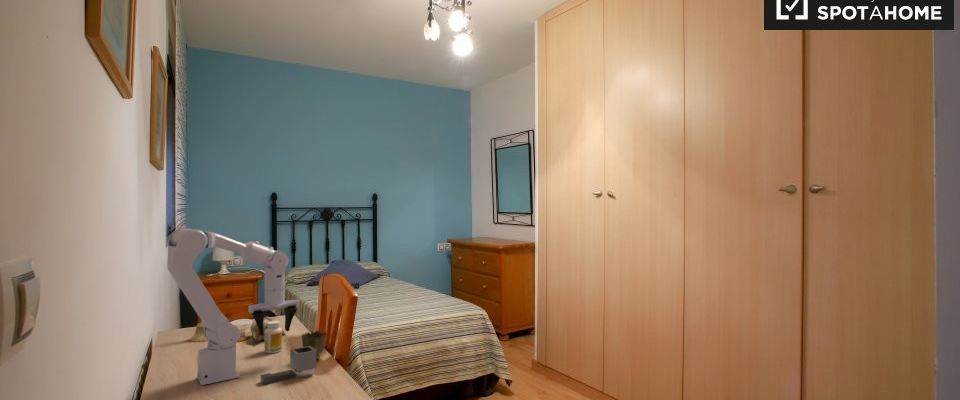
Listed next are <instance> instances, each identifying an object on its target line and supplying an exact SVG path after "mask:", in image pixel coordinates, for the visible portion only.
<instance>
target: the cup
mask: <svg viewBox="0 0 960 400" xmlns="http://www.w3.org/2000/svg"><path fill="white" fill-rule="evenodd" d="M326 339H327V332H325V331H324V332H323V333H322V330H321V331H318V330H315V331H313V330H312V331H311V333H310V331H307V332H305V333H302V334H301V342H302V347H306V346H311V347H312V348H314V349H315V350H316V361H318V360H319V358H320V356H321V355H320V354H322V352H323V351H324V350H325V346H326Z"/></svg>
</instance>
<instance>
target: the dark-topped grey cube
mask: <svg viewBox="0 0 960 400" xmlns="http://www.w3.org/2000/svg"><path fill="white" fill-rule="evenodd" d="M289 352H290V353H289V355H290V361H289V363H290V364H289V367H290V368H291V370H292V369H294V370H295V371H296V372H299V371H304V370H308V369H313V368H314V369H317V360H316V350H315V349H314V348H312V347H311V346H306V347H303V346H302V347H297V348H292V349H290V350H289Z"/></svg>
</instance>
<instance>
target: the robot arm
mask: <svg viewBox="0 0 960 400" xmlns="http://www.w3.org/2000/svg"><path fill="white" fill-rule="evenodd" d="M166 245H167V261H166V264H167V265H166V266H167V267H166V268H167V270H168V272H169V273H170V275H171V276H172V278H173V279H174V282H176V284H177V286H178V287H179V289H180V290H181V291H182V292H183V294H184V297H186V299H187V301H188V302H189V304H190V305H191V307H192V308H193V310H194V311H195V313H196V314H197V316H198V317H199V320H200V323H201V324H202V326H203V328H204V336H205V338H206V339H207V340H209V341H207V342H208V343H207V345H206V347H204V348H201V349H198V352H197V372H196V373H197V380H198V381H199V383H200V385H201V386H205V385H209V384H214V383H219V382H222V381H228V380H233V379H238V378H240V376H241V375H240V374H239V372H238V371H237V342H238V341H239V340H240V337H241V330H240V329H239V327H238V326H237V325H235V324H233V323H231V321H230V320H229V319H228V318H227V317H226V315H224V314H223V312H221V310H220V308H219V307H218V305H217V304H216V302H215V300H214V299H213V298H212V296H211V294H210V293H209V291H208V290H207V288H206V286H205V285H204V284H203V282H202V280H201V278H200V276H199V275H198V274H197V272H196V271H195V269H194V267H193V266H194V263H195V261H196V259H197V257H198V256H199V255H200V254H201V253H202V252H203V251H204V250H205V249H212V248H214V247H215V248H219V249H222V250H226V251H228V252H232V253H236V254H238V255H240V258H241V260H243V261H246V262H250V263H252V264H257V265H259V266H262V267H264V302H261V303H257V304H250V305H248V310H247V312H248V313H249V314H251V315H252V316H253V319H254V320H255V321H256V323H257V326H258V330H259V335H260V336H262V335H263V320H264V316H265V314H264V311H273V310H279V309H283V310H284V330H285V331H286V332H290V328H291V326H292V325H291V324H292V321H293V318H294V317H295V315H296V313H297V311H298V307H300V300H299V299H287V300H285V295H286V292H285V291H286V288H285V287H286V285H285V284H286V283H285V282H286V280H285V279H286V277H285V276H286V268H287V267H288V264H289V262H290V259H289V258H288V256H287V254H286V252H284V251H281V250H275V249H274V247H273V246H268V247H267V246H265V245H262V244H260V241H256V240H253V241H248V242H245V243H243V242H241V241H237V240H234V239H232V238H229V237H227V236H224V235H221V234H219V233H216V232H212V231H206V230H205V231H204V230H201V229H197V228H192V229H191V228H188V227H187V228H186V227H181V228H177V229H175V230H174V231H173V232H172V233H171V235H170V237H169V239H168V240H167V242H166ZM201 320H202V322H201Z"/></svg>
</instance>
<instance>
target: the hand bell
mask: <svg viewBox="0 0 960 400" xmlns="http://www.w3.org/2000/svg"><path fill="white" fill-rule="evenodd" d="M201 322H202V320H201V319H200V322H199V323H197V324H196V328H195V332H194V334H193V336H191V337H190V339H189V340H190V342H193V343H194V342H195V343H204V342H208V341H209V340H207V339H206V338H205V336H204V328H203V326H202V324H201Z"/></svg>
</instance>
